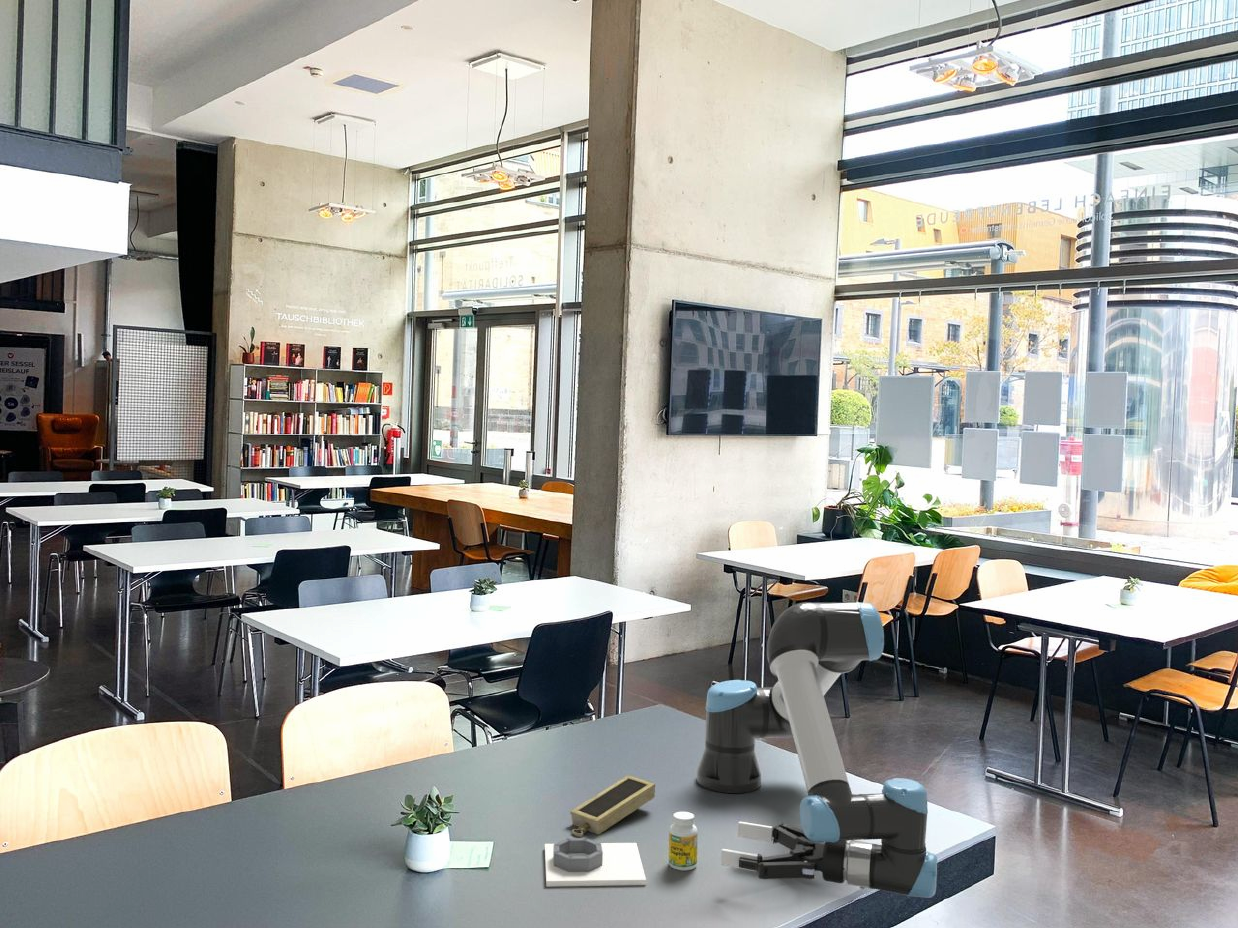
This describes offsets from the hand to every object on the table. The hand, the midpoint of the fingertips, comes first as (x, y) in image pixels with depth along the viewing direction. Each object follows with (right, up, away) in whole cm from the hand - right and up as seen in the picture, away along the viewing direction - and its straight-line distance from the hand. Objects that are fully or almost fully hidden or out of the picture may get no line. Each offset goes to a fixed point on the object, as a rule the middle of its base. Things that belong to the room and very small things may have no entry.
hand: (730, 842), depth 183 cm
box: (-23, -5, +24) cm, 34 cm away
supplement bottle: (-9, -6, +3) cm, 11 cm away
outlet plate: (-26, -5, +2) cm, 26 cm away
